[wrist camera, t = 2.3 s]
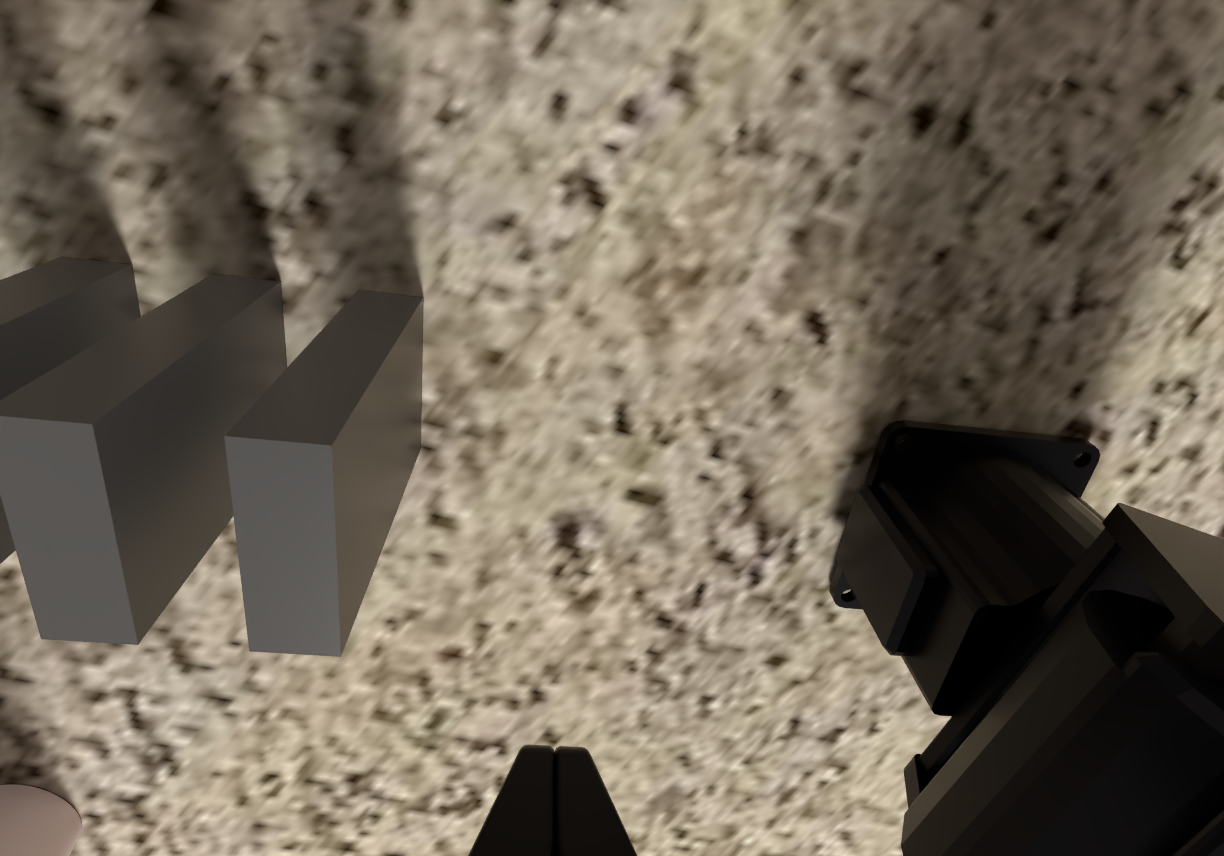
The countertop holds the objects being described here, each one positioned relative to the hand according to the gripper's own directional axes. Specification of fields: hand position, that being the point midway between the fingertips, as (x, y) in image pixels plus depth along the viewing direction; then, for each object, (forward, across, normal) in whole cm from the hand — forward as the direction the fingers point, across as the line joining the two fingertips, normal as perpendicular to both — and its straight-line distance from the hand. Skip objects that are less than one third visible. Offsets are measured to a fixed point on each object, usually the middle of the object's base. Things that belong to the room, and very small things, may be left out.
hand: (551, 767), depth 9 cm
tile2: (+12, +8, 0) cm, 14 cm away
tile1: (+12, +4, 0) cm, 13 cm away
